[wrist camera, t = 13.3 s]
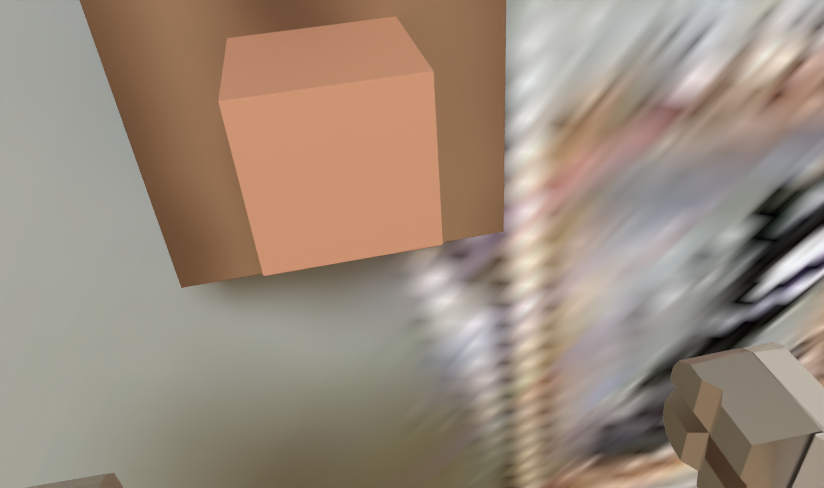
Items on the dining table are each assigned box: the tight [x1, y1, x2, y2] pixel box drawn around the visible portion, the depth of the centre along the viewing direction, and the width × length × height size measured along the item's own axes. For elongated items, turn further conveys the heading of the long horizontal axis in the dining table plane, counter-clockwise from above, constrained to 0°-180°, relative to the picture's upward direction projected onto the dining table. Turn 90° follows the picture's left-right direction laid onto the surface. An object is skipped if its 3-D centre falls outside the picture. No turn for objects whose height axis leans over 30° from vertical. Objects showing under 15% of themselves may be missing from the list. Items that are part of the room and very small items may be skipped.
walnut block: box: [80, 0, 506, 288], centre depth 23 cm, size 12×12×6 cm
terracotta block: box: [218, 16, 443, 276], centre depth 18 cm, size 5×5×5 cm
